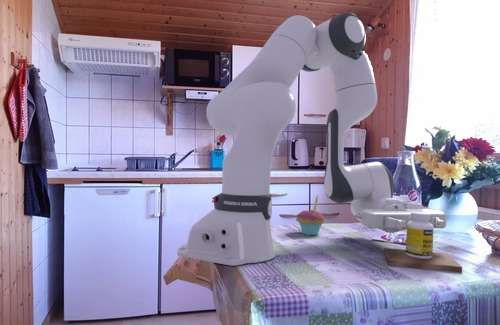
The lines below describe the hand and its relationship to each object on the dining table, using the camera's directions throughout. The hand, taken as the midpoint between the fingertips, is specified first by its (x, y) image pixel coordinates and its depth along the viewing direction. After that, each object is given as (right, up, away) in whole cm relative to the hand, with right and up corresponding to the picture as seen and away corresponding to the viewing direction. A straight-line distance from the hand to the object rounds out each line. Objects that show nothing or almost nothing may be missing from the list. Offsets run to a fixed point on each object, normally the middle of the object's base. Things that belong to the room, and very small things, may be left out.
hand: (422, 224), depth 78 cm
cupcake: (-20, -8, +29) cm, 36 cm away
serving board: (0, -8, +1) cm, 9 cm away
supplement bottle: (0, -7, +1) cm, 7 cm away
